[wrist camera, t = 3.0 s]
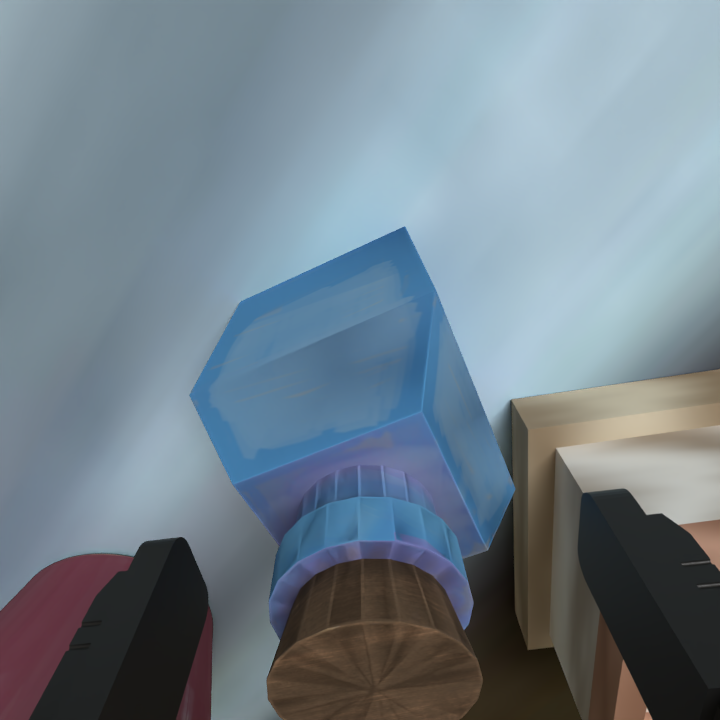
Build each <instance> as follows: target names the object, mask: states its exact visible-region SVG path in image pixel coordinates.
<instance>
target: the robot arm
mask: <svg viewBox="0 0 720 720" xmlns="http://www.w3.org/2000/svg"><path fill="white" fill-rule="evenodd" d="M578 558H579V563H580V567H581V570H582V573H583V576H584V579H585V581H586V583H587V585H588V587H589V589H590V591H591V594H592V596H593V598H594V600H595V602H596V604H597V606H598V608H599V610H600V612H601V614H602V616H603V618H604V620H605V622H606V624H607V627H608V629H609V631H610V633H611V635H612V637H613V639H614V641H615V643H616V645H617V647H618V649H619V651H620V653H621V655H622V657H623V660H624V662H625V664H626V666H627V668H628V670H629V672H630V674H631V676H632V678H633V680H634V682H635V684H636V686H637V688H638V690H639V693H640V695H641V697H642V699H643V701H644V703H645V705H646V707H647V709H648V711H649V713H650V715H651V717H652V719H653V720H720V571H719V569H718V568H717V567H716V565H715V564H712V563H711V561H710V558H709V557H708V555H707V554H706V553H705V551H704V550H703V549H702V548H701V546H700V545H699V544H698V543H697V541H696V540H695V539H694V538H693V536H692V535H691V534H690V533H689V532H688V531H686V530H685V529H683V528H682V527H681V526H679V525H678V524H676V523H675V522H674V521H672V520H671V519H669V518H668V517H666V516H665V515H664V514H662V513H659V514H650V515H646V513H645V512H644V511H643V509H642V508H641V506H640V505H639V504H638V502H637V501H636V499H635V498H634V497H633V495H632V494H631V493H630V492H629V491H628V490H627V489H624V488H621V489H612V490H603V491H595V492H586V493H583V495H582V497H581V507H580V520H579V533H578ZM207 612H208V591H207V587H206V584H205V582H204V579H203V577H202V575H201V572H200V570H199V568H198V565H197V563H196V561H195V558H194V556H193V554H192V551H191V549H190V547H189V545H188V543H187V541H186V540H185V539H184V538H182V537H179V538H170V539H162V540H153V541H146V542H144V543H143V544H142V545H141V546H140V547H139V549H138V551H137V553H136V555H135V557H134V559H133V561H132V563H131V565H130V567H129V569H128V570H127V571H119V572H117V573H116V575H115V576H114V577H113V578H112V579H111V580H110V581H109V582H108V583H107V584H106V585H105V586H104V587H103V588H102V590H101V591H100V592H99V593H98V594H97V595H96V596H95V598H94V600H93V602H92V604H91V606H90V607H89V609H88V611H87V613H86V615H85V617H84V618H83V620H82V622H81V623H82V626H81V628H78V630H77V631H76V633H75V635H74V637H73V639H72V641H71V642H70V644H69V650H68V651H66V652H65V654H64V655H63V657H62V659H61V661H60V663H59V665H58V666H57V668H56V670H55V672H54V674H53V676H52V678H51V679H50V681H49V683H48V685H47V687H46V689H45V690H44V692H43V694H42V696H41V698H40V700H39V702H38V703H37V705H36V707H35V709H34V711H33V713H32V714H31V716H30V718H29V720H176V718H177V714H178V711H179V708H180V704H181V701H182V698H183V694H184V691H185V688H186V684H187V681H188V678H189V674H190V671H191V668H192V664H193V661H194V658H195V654H196V651H197V648H198V644H199V641H200V638H201V634H202V631H203V628H204V624H205V621H206V617H207Z"/></svg>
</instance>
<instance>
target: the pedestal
mask: <svg viewBox="0 0 720 720" xmlns="http://www.w3.org/2000/svg"><path fill="white" fill-rule="evenodd" d="M511 410H512V466H513V483H514V486H515V488H516V489H515V492H514V494H513V523H514V580H515V613H516V616H517V619H518V622H519V625H520V628H521V631H522V634H523V637H524V640H525V643H526V646H527V649H528V650H532V649H541V648H549V647H554V648H555V650H556V653H557V656H558V658H559V661H560V663H561V666H562V669H563V671H564V674H565V677H566V679H567V682H568V684H569V687H570V690H571V692H572V695H573V697H574V700H575V703H576V705H577V708H578V711H579V713H580V716H581V718H582V720H653V719H652V717H651V715H650V713H649V711H648V709H647V707H646V705H645V703H644V701H643V699H642V697H641V695H640V693H639V690H638V688H637V686H636V684H635V682H634V680H633V678H632V676H631V674H630V672H629V670H628V668H627V666H626V664H625V662H624V660H623V657H622V655H621V653H620V651H619V649H618V647H617V645H616V643H615V641H614V639H613V637H612V635H611V633H610V631H609V629H608V627H607V624H606V622H605V620H604V618H603V616H602V614H601V612H600V610H599V608H598V606H597V604H596V602H595V600H594V598H593V596H592V594H591V591H590V589H589V587H588V585H587V583H586V581H585V579H584V576H583V573H582V570H581V567H580V563H579V558H578V533H579V520H580V507H581V497H582V495H583V493H586V492H595V491H603V490H612V489H621V488H624V489H627V490H628V491H629V492H630V493H631V494H632V495H633V497H634V498H635V499H636V501H637V502H638V504H639V505H640V506H641V508H642V509H643V511H644V512H645V513H646V515H650V514H659V513H662V514H664V515H665V516H666V517H668V518H669V519H671V520H672V521H674V522H675V523H676V524H678V525H679V526H681V527H682V528H683V529H685V530H686V531H688V532H689V533H690V534H691V535H692V536H693V538H694V539H695V540H696V541H697V543H698V544H699V545H700V546H701V548H702V549H703V550H704V551H705V553H706V554H707V555H708V557H709V558H710V561H711V563H712V564H715V565H716V567H717V568H718V569H719V571H720V369H718V370H711V371H704V372H698V373H691V374H684V375H677V376H670V377H663V378H656V379H650V380H643V381H636V382H629V383H622V384H615V385H608V386H601V387H595V388H588V389H581V390H574V391H567V392H560V393H553V394H546V395H540V396H533V397H526V398H519V399H512V400H511Z"/></svg>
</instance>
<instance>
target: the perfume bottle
mask: <svg viewBox="0 0 720 720" xmlns="http://www.w3.org/2000/svg"><path fill="white" fill-rule="evenodd" d="M190 397H191V399H192V401H193V404H194V406H195V408H196V410H197V412H198V414H199V416H200V418H201V420H202V422H203V424H204V426H205V428H206V430H207V432H208V435H209V437H210V439H211V441H212V443H213V445H214V447H215V449H216V451H217V453H218V455H219V457H220V459H221V461H222V464H223V466H224V468H225V470H226V472H227V474H228V476H229V478H230V480H231V482H232V484H233V486H234V487H235V488H236V490H237V491H238V492H239V494H240V495H241V496H242V497H243V499H244V500H245V501H246V503H247V504H248V505H249V507H250V508H251V509H252V511H253V512H254V513H255V515H256V516H257V517H258V519H259V520H260V521H261V522H262V524H263V525H264V526H265V528H266V529H267V530H268V532H269V533H270V534H271V536H272V537H273V538H274V540H275V541H276V542H277V544H278V545H279V546H280V547H279V549H278V552H277V554H276V559H275V565H274V572H273V578H272V584H271V591H270V597H269V613H270V623H271V625H272V627H273V628H274V630H275V632H276V634H277V635H278V637H279V639H280V643H279V646H278V649H277V651H276V654H275V657H274V660H273V663H272V666H271V669H270V671H269V674H268V677H267V692H268V700H269V702H270V703H271V705H272V706H273V708H274V709H275V711H276V712H277V714H278V715H279V717H280V718H282V719H283V720H459V719H460V718H462V717H463V716H464V715H465V714H466V713H467V712H468V710H469V709H470V708H471V707H472V706H473V705H474V703H475V702H476V701H477V700H478V697H479V694H480V690H481V686H482V683H483V677H482V674H481V670H480V666H479V663H478V660H477V658H476V655H475V653H474V651H473V649H472V647H471V645H470V642H469V640H468V638H467V636H466V634H465V632H464V630H465V628H466V627H467V626H468V624H469V621H470V617H471V612H472V608H473V604H474V603H473V599H472V595H471V591H470V587H469V583H468V579H467V575H466V571H465V567H464V563H463V558H466V557H469V556H472V555H475V554H478V553H481V552H485V551H488V549H489V547H490V544H491V542H492V540H493V538H494V536H495V533H496V531H497V529H498V527H499V525H500V522H501V520H502V518H503V516H504V514H505V511H506V509H507V507H508V505H509V503H510V500H511V498H512V496H513V494H514V492H515V489H516V488H515V486H514V483H513V481H512V478H511V476H510V474H509V471H508V469H507V466H506V464H505V461H504V459H503V456H502V454H501V451H500V449H499V446H498V444H497V441H496V439H495V436H494V434H493V431H492V429H491V426H490V424H489V421H488V419H487V416H486V414H485V411H484V409H483V406H482V404H481V401H480V399H479V396H478V394H477V391H476V389H475V386H474V384H473V381H472V379H471V376H470V374H469V372H468V369H467V367H466V364H465V362H464V359H463V357H462V354H461V352H460V349H459V347H458V344H457V342H456V339H455V337H454V334H453V332H452V329H451V327H450V324H449V322H448V319H447V317H446V314H445V312H444V309H443V307H442V304H441V302H440V299H439V297H438V294H437V292H436V289H435V287H434V285H433V283H432V281H431V279H430V277H429V275H428V273H427V271H426V269H425V267H424V265H423V263H422V260H421V258H420V256H419V254H418V252H417V250H416V248H415V246H414V244H413V242H412V240H411V238H410V236H409V234H408V232H407V229H406V227H402V228H400V229H398V230H396V231H394V232H391V233H389V234H387V235H385V236H383V237H381V238H378V239H376V240H374V241H372V242H370V243H368V244H365V245H363V246H361V247H359V248H357V249H354V250H352V251H350V252H348V253H346V254H344V255H341V256H339V257H337V258H335V259H333V260H330V261H328V262H326V263H324V264H322V265H320V266H317V267H315V268H313V269H311V270H309V271H306V272H304V273H302V274H300V275H298V276H296V277H293V278H291V279H289V280H287V281H285V282H282V283H280V284H278V285H276V286H274V287H272V288H269V289H267V290H265V291H263V292H261V293H258V294H256V295H254V296H252V297H250V298H248V299H245V300H243V301H241V302H240V303H239V305H238V307H237V309H236V311H235V313H234V314H233V316H232V318H231V320H230V322H229V324H228V325H227V327H226V329H225V331H224V333H223V335H222V336H221V338H220V340H219V342H218V344H217V346H216V347H215V349H214V351H213V353H212V355H211V357H210V358H209V360H208V362H207V364H206V366H205V368H204V369H203V371H202V373H201V375H200V377H199V379H198V380H197V382H196V384H195V386H194V388H193V390H192V391H191V393H190Z"/></svg>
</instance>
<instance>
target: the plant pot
mask: <svg viewBox="0 0 720 720" xmlns="http://www.w3.org/2000/svg"><path fill="white" fill-rule="evenodd" d="M133 559H134V557H130V556H123V555H116V554H88V555H79V556H74V557H70V558H66V559H63V560H61V561H58V562H56V563H53V564H51V565H50V566H48V567H46V568H44V569H43V570H41V571H40V572H39V573H38V574H36V575H35V576H34V577H33V578H32V579H31V580H30V581H29V582H28V583H27V584H26V586H25V587H24V588H23V589H22V590H21V591H20V592H19V593H18V594H17V595H16V596H15V597H14V598H13V599H12V600H11V601H10V602H9V603H8V604H7V605H6V606H5V607H4V608H3V609H2V610H1V611H0V720H29V718H30V716H31V714H32V713H33V711H34V709H35V707H36V705H37V703H38V702H39V700H40V698H41V696H42V694H43V692H44V690H45V689H46V687H47V685H48V683H49V681H50V679H51V678H52V676H53V674H54V672H55V670H56V668H57V666H58V665H59V663H60V661H61V659H62V657H63V655H64V654H65V652H66V651H68V650H69V644H70V642H71V641H72V639H73V637H74V635H75V633H76V631H77V630H78V628H81V626H82V623H81V622H82V620H83V618H84V617H85V615H86V613H87V611H88V609H89V607H90V606H91V604H92V602H93V600H94V598H95V596H96V595H97V594H98V593H99V592H100V591H101V590H102V588H103V587H104V586H105V585H106V584H107V583H108V582H109V581H110V580H111V579H112V578H113V577H114V576H115V575H116V573H117V572H119V571H127V570H128V569H129V567H130V565H131V563H132V561H133ZM212 639H213V619H212V614H211V610H210V608H209V605H208V612H207V617H206V621H205V624H204V628H203V631H202V634H201V638H200V641H199V644H198V648H197V651H196V654H195V658H194V661H193V664H192V668H191V671H190V674H189V678H188V681H187V684H186V688H185V691H184V694H183V698H182V701H181V704H180V708H179V711H178V714H177V718H176V720H211V683H212Z"/></svg>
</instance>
